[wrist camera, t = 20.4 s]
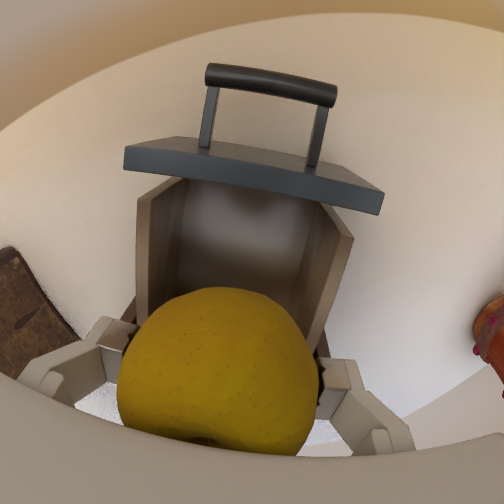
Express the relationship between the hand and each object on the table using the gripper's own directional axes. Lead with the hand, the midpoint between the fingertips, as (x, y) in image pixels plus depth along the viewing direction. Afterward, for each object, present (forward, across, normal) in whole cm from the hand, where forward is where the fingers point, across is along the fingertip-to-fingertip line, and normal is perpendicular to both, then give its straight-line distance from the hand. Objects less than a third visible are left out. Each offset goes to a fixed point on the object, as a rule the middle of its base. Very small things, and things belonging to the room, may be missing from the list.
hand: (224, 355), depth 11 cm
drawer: (+14, 0, -1) cm, 14 cm away
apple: (+3, 0, 0) cm, 3 cm away
